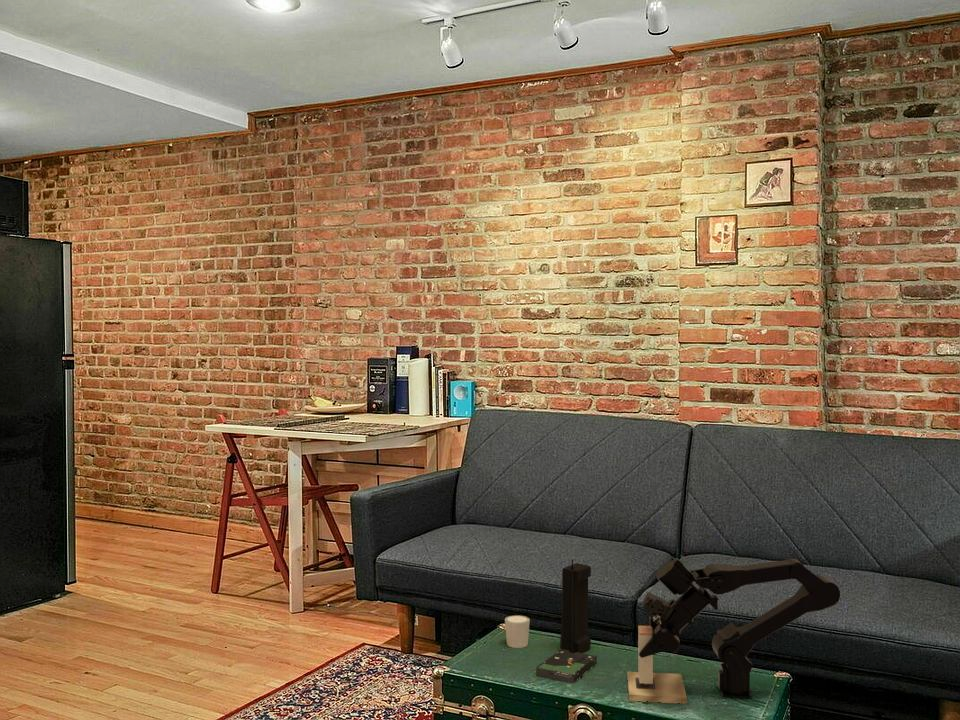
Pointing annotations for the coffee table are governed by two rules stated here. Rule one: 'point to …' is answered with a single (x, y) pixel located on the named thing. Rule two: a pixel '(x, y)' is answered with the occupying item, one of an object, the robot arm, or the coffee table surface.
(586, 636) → the dark tower with antenna
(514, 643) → the white cup
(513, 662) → the coffee table surface
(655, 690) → the header board
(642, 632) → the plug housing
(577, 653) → the disk drive
